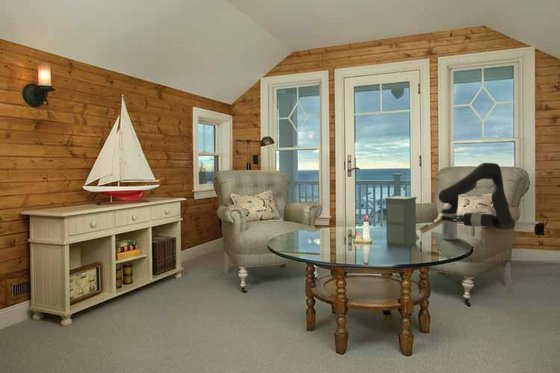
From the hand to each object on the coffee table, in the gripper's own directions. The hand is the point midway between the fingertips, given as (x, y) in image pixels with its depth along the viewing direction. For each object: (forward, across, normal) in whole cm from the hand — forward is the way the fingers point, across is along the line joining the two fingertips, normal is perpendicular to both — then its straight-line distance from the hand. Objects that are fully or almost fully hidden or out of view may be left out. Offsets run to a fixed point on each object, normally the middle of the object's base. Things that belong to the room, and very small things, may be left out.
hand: (442, 217), depth 243 cm
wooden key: (+3, 0, +5) cm, 6 cm away
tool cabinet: (+26, 0, +19) cm, 32 cm away
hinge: (+31, -18, +19) cm, 40 cm away
